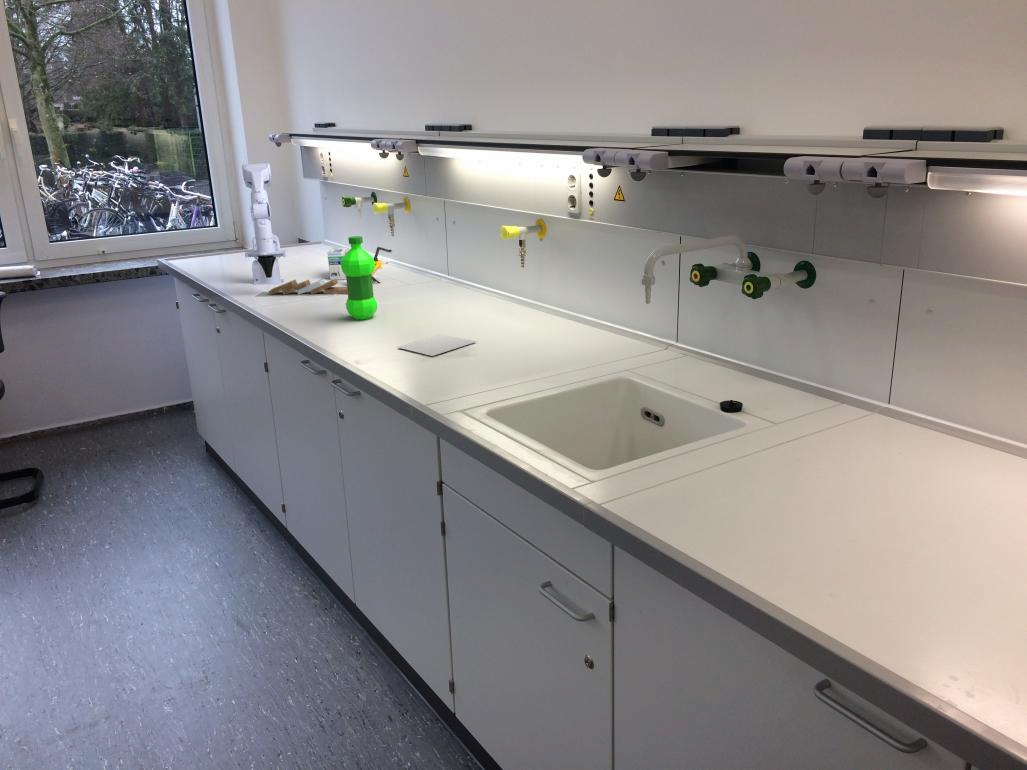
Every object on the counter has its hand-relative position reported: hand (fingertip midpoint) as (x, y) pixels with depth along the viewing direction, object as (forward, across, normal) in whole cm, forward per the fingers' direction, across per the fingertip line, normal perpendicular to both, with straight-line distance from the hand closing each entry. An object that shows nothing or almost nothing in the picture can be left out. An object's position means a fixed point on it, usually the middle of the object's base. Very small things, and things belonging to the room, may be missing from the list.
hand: (269, 277), depth 297 cm
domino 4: (+5, +20, 0) cm, 20 cm away
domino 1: (+5, 0, 0) cm, 5 cm away
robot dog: (+7, +32, +16) cm, 37 cm away
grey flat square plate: (+7, +71, -74) cm, 103 cm away
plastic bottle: (+7, +42, -35) cm, 55 cm away
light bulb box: (+7, +17, +30) cm, 35 cm away
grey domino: (+5, +10, 0) cm, 12 cm away
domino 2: (+5, +5, 0) cm, 7 cm away
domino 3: (+5, +15, 0) cm, 16 cm away
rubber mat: (+6, +10, 0) cm, 11 cm away
